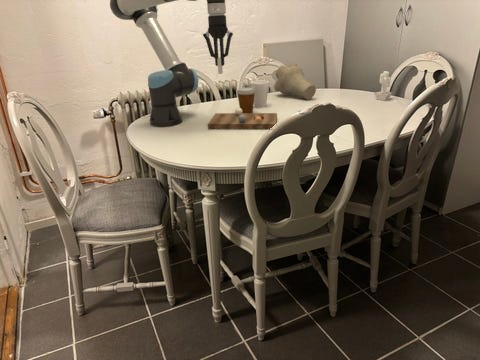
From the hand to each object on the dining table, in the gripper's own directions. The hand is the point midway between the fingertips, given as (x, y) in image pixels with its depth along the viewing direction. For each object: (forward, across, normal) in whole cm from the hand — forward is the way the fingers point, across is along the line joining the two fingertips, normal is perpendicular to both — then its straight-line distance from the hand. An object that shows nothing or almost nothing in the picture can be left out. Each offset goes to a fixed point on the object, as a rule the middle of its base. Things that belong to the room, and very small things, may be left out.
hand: (220, 73), depth 157 cm
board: (+22, +10, -2) cm, 25 cm away
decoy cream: (+18, +7, +4) cm, 20 cm away
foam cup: (+23, +15, +31) cm, 41 cm away
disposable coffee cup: (+23, +9, +18) cm, 30 cm away
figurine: (+23, +82, +45) cm, 96 cm away
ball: (+21, +17, -2) cm, 27 cm away
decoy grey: (+18, +10, -8) cm, 22 cm away
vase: (+23, +35, +52) cm, 67 cm away
